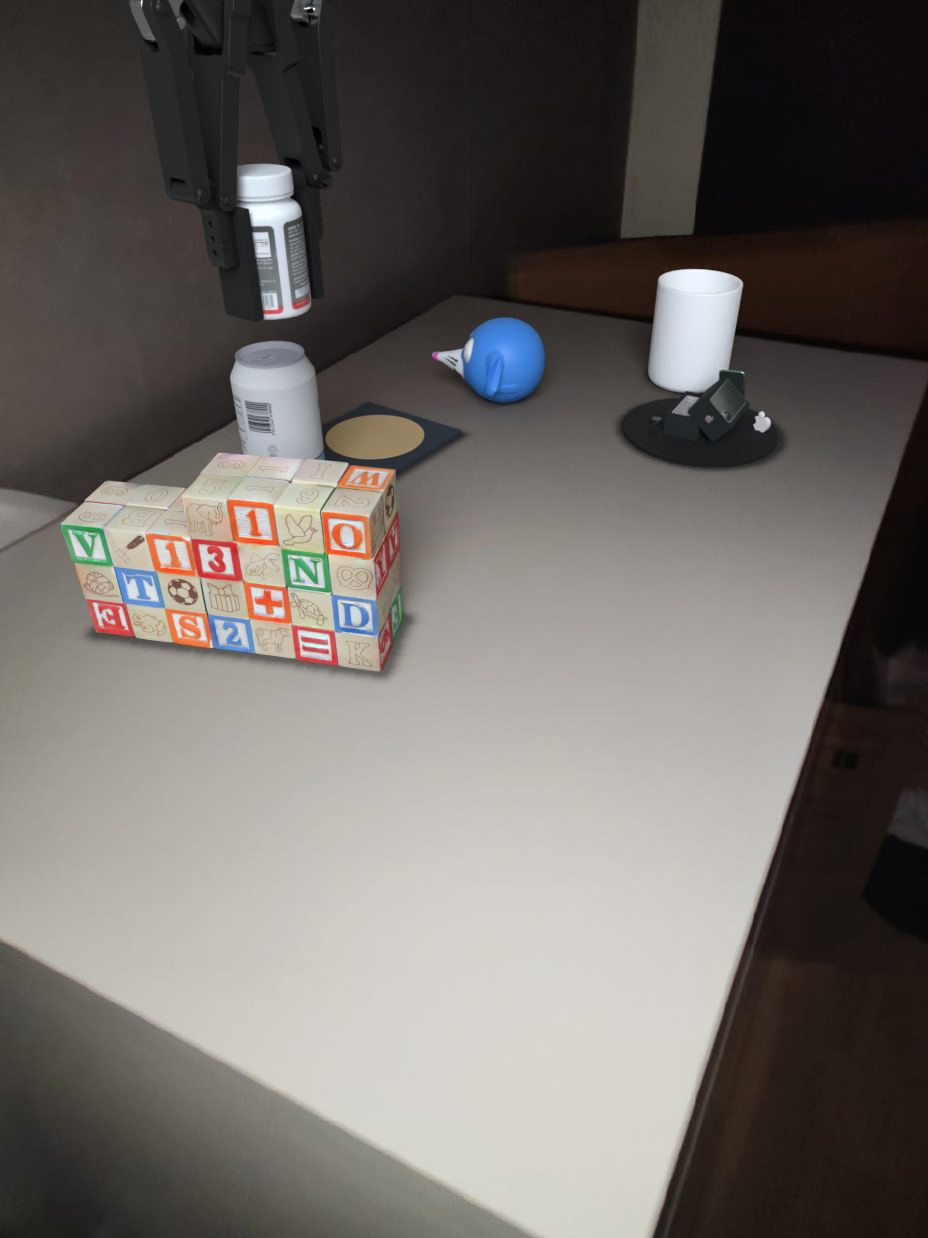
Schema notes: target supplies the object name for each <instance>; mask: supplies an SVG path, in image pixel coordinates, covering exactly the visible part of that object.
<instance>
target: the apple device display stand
mask: <svg viewBox="0 0 928 1238" xmlns="http://www.w3.org/2000/svg"><path fill="white" fill-rule="evenodd" d="M745 395H746V373H745V371H742V370H735V369H729V370H720V371H719V380H718V381H717V382H716V383H714V384H713V385H712V386H711V387H709V388H708V389H707V390H706V391H705V392H704V393H694V392H689V391H685V392H684V393H681V395H680V396H679V397H671V398H664V399H663V398H662V399H658V400H654V401H650V402H646V403H643V404H641V405H638V406H636V407H635V408H633V409H631V410H630V411H629V412H628V413H626V415H625V417H624V419H623V421H622V433H623V435H624V437H625V438H626V440H627V441H628V442H629V443H630V444H631V445H632V446H633V447H635V448H636V449H638V450H640V451H642V452H643V453H645V454H647V455H648V456H649V455H650V456H652V457H654V458H657V459H659V460H663V461H665V462H670V463H673V464H677V465H678V464H679V465H684V466H691V467H702V468H729V467H737V466H743V465H747V464H752V463H754V462H758V461H760V460H762V459H764V458H766V457H767V456H769V455H770V454H772V453H773V452H774V451H775V449H776V448H777V446H778V442H779V431H778V430H777V428H776V427H775V425H774V424H773V422H772V421H771V418H769V417H768V416H766V414H765V412H764V411H763V410H761V411H759V412H756V411H755V410H752V409H750V408H749V407H750V406H751V403H750V402H749V400H747V398H746V397H745Z"/></svg>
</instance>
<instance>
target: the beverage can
mask: <svg viewBox="0 0 928 1238" xmlns="http://www.w3.org/2000/svg"><path fill="white" fill-rule="evenodd" d="M234 357H235V362H234V364H233V367H232V369H231V372H230V375H229V380H230V386H231V391H232V397H233V404H234V411H235V415H236V422H237V428H238V433H239V439H240V445H241V450H242V451H241V452H242V455H252V456H259V457H264V456H268V457H282V458H293V459H302V460H304V461H305V460H306V459H315V460H325V454H324V446H323V437H322V428H321V426H322V420H321V410H320V402H319V392H318V383H317V374H316V369H315V366H314V365H313V364H312V363H311V361H310V360H309V358H308V357H307V356H306V354H305V349H304V347H303V346H302V345H300V344H298V343H295V342H292V341H286V340H268V341H267V340H266V341H260V342H255V343H250V344H248V345H246V346H243V347H241V348H240V349H239V350H237V351H236V352H235V354H234Z"/></svg>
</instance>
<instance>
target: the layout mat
mask: <svg viewBox="0 0 928 1238" xmlns="http://www.w3.org/2000/svg"><path fill="white" fill-rule="evenodd" d="M321 428H322V437H323V446H324V454H325V460H326V461H337V462H346V463H348V464H349V465H350V466H352V465H354V466H365V467H373V468H384V469H394V470H395V471H396V476H397V475H400V473H402V472H404V471H405V470H407V469H408V468H410V467H412V466H414V465H415V464H417V463H418V462H420V461H422V460H423V459H424V458H426V457H428V456H430V455H431V454H433V453H435V452H436V451H438V450H439V449H441V448H442V447H444V446H445V445H447V444H449V443H450V442H452V441H454V440H456V439H457V438H458V437H460V436H461V435H462V430H461V429H459V428H456V427H452V426H449V425H446V424H443V423H439V422H436V421H433V420H430V419H426V418H423V417H419V416H417V415H413V414H410V413H407V412H403V411H400V410H397V409H394V408H390V407H387V406H385V405H381V404H377V403H373V402H370V401H367V402H365V403H362V404H361V405H359V406H357V407H355V408H354V409H353V408H352V409H351V410H350V411H347V412H346V413H344V414H342V415H340V416H338V417H336V418H334V419H332V420H330V421H328V422H327V423H325V424H322V425H321Z"/></svg>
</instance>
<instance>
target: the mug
mask: <svg viewBox="0 0 928 1238" xmlns="http://www.w3.org/2000/svg"><path fill="white" fill-rule="evenodd" d="M656 287H657V288H656V295H655V303H654V312H653V313H654V314H653V321H652V330H651V339H650V346H649V355H648V366H647V374H648V378H649V380H650V382H652V384H654V385H655V386H656V387H658V388H660V389H663V390H666V391H668V392H669V391H670V392H674V393H679V394H683V393H684V392H685V391H689V392H694V393H699V394H703V393H704V392H705V391H706V390H707V389H708V388H709V387H711V386H712V385H713V384H714V383H716V382H717V381H718V380H719V371H720V370H730V369H729V368H730V364H731V363H730V362H731V359H732V351H733V346H734V340H735V334H736V329H737V322H738V317H739V312H740V305H741V299H742V293H743V288H744V282H743V281H742V279H740V278H739V277H738V276H735V275H733V274H732V273H727V272H723V271H720V270H719V271H718V270H711V269H704V268H703V269H702V268H701V269H700V268H685V269H677V270H671V271H668V272H665V273H663V274H661V275H660V276H658V279H657V286H656Z"/></svg>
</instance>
